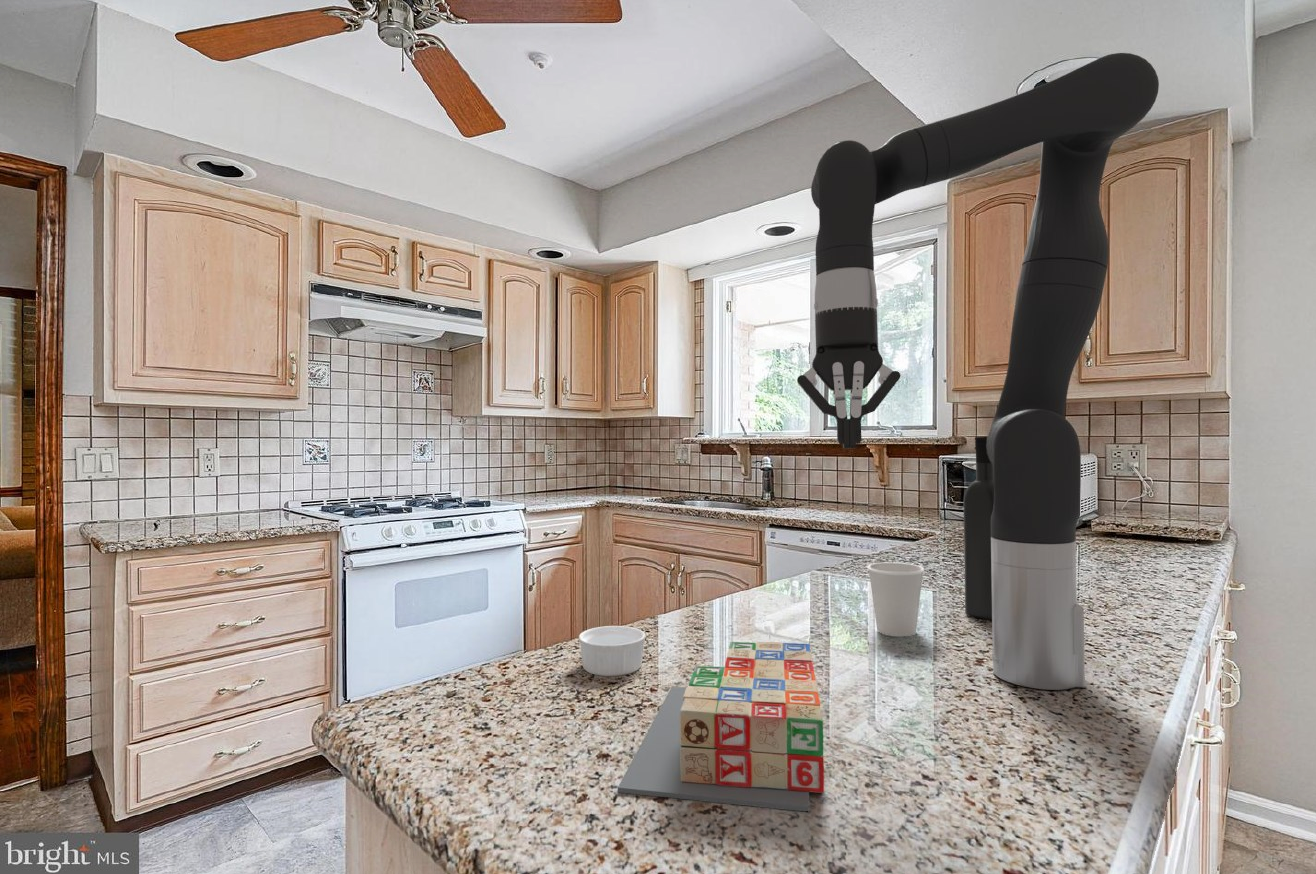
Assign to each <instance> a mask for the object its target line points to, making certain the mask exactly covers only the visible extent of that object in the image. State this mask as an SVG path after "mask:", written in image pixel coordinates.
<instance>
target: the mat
mask: <svg viewBox="0 0 1316 874" xmlns="http://www.w3.org/2000/svg"><path fill="white" fill-rule="evenodd" d="M687 687H688V686H686V687H685V686H671V688H670V689H669V691H668V693H667V695H666V697H665V699H664V700H663V701H662V704H661V706H660V708H659V709H658V712H657V714H656V716H655V717H654V719H653V721H652V723H651V724H650V727H649V729H648V730H647V732H646V735H645V736H644V738H643V740H642V741H641V743H640V745H639V747H638V749H637V751H636V753H635V755H634V756H633V758H632V760H631V761H630V764H629V766H628V768H627V769H626V772H625V773H624V775H623V777H622V778H621V781H620V782H619V785H618V786H617V793H622V794H632V795H640V796H642V795H643V796H651V797H661V798H671V799H678V800H679V799H683V800H689V801H698V802H699V801H701V802H710V803H719V804H720V803H721V804H729V805H730V804H731V805H739V806H747V805H748V806H749V807H759V808H769V809H777V810H788V811H789V810H790V811H798V812H806V811H808V812H807V813H810V792H808V791H792V790H787V789H774V788H759V787H736V786H724V785H716V784H708V783H694V782H683V781H681V762H680V747H681V744H680V712H681V708H682V705H683V696H684V693H685V690H686V688H687ZM751 805H752V806H751ZM748 806H747V807H748Z"/></svg>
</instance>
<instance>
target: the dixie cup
mask: <svg viewBox="0 0 1316 874" xmlns="http://www.w3.org/2000/svg"><path fill="white" fill-rule="evenodd" d="M866 568H867V570H868V574H869V580H870V587H871V596H872V603H873V609H874V610H873V612H874V618H875V623H876V624H875V625H876V631H877V630H878V631H879V632H880V633H879V632H878V631H877V632H878V633H879V634H881V633H882V635H884V634H886V635H885V636H887V635H893V636H910V637H912V636H911V635H914V636H915V635H916V634H917V628H918V627H917V626H918V619H919V610H920V609H919V608H920V601H921V600H920V599H921V592H922V582H923V573H925V568H924V567H922V566H920V565H918V564H917V565H916V564H913V563H906V562H905V563H904V562H889V561H887V562H874V563H870V564H869V565H868V566H866ZM893 636H892V637H893Z"/></svg>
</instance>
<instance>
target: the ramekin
mask: <svg viewBox="0 0 1316 874" xmlns="http://www.w3.org/2000/svg"><path fill="white" fill-rule="evenodd" d="M645 640H646V633H645V632H644V631H643V630H641V629H639V628H636V627H632V626H627V625H606V626H605V625H604V626H598V627H593V628H588V629H587V630H584V631H582V632H581V633H580V634H579V635H578V641H579V644H580V652H581V653H580V654H581V664H582V667H583V670H585V671H586V672H587V673H589V674H592V675H595V676H603V677H615V676H616V677H618V676H625V675H628V674H631V673H635V672H637V671H638V670H639V669H640V668H641V667H642V664H643V658H644V657H643V655H644V643H645Z"/></svg>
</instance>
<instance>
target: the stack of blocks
mask: <svg viewBox="0 0 1316 874" xmlns="http://www.w3.org/2000/svg"><path fill="white" fill-rule="evenodd" d="M811 652H812V651H811V646H810V643H795V642H774V641H773V642H772V641H756V642H749V641H747V642H745V641H743V642H741V641H730V642H729V645H728V650H727V654H726V660H725V664H724V666H709V665H708V666H705V665H695V667H694V670H693V672H692V675H691V677H690V679H689V682H688V686H686V687H687V688H686V690H685V693H684V696H683V705H682V708H681V712H680V744H681V747H680V762H681V781H683V782H694V783H708V784H716V785H724V786H736V787H759V788H774V789H787V790H792V791H808V792H809V793H816V794H817V793H820V794H822V793H824V792H825V782H824V781H825V779H824V778H825V771H824V770H825V768H824V765H825V764H824V760H825V759H824V720H823V714H822V709H821V702H820V701H821V700H820V696H819V690H818V685H817V679H816V674H815V670H814V663H813V657H812V653H811Z"/></svg>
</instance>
